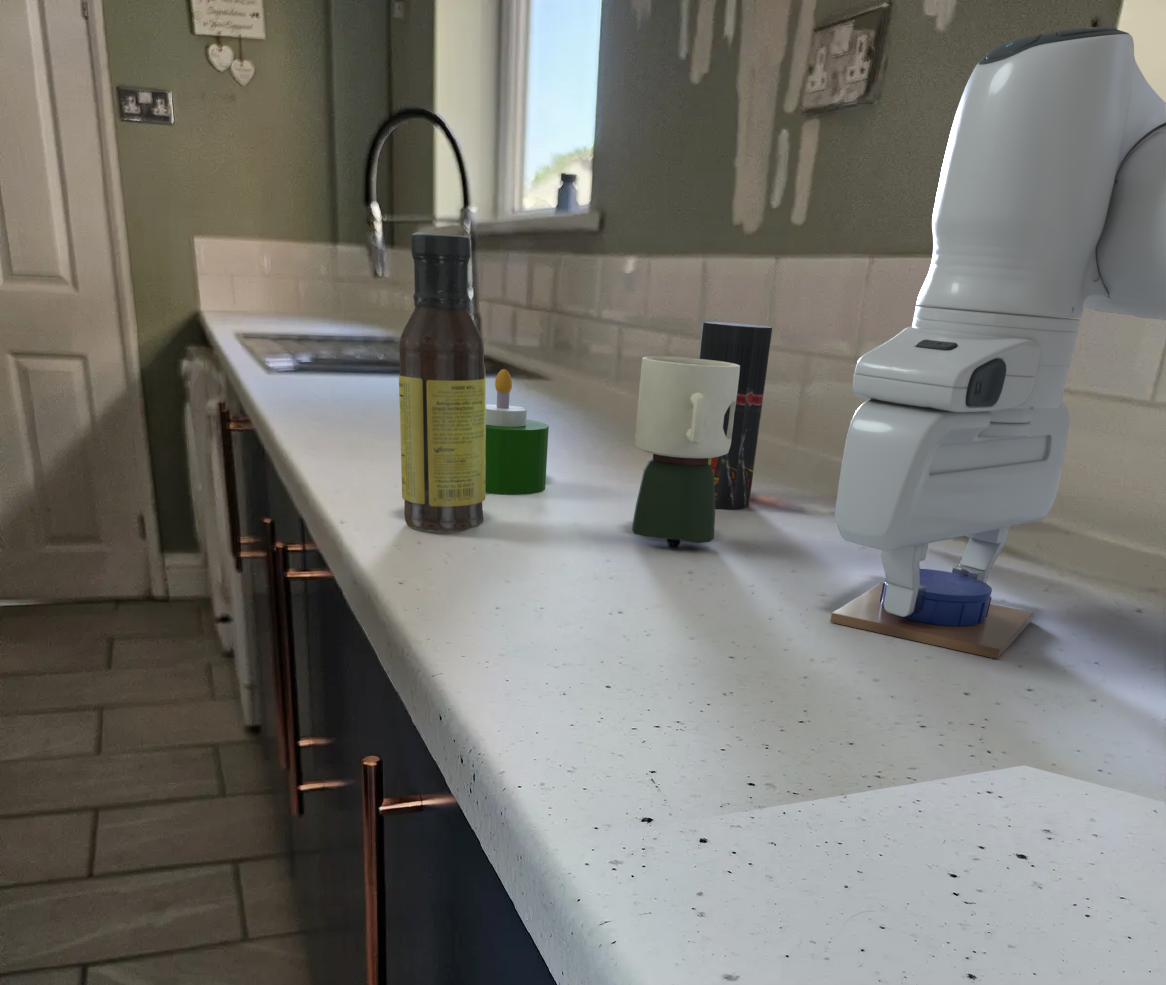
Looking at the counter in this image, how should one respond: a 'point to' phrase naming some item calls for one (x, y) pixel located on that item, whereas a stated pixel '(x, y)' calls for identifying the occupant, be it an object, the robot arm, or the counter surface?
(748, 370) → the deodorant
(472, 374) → the sauce bottle
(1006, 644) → the coaster
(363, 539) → the counter surface
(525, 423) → the candle
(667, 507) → the character mug
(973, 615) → the jar lid
